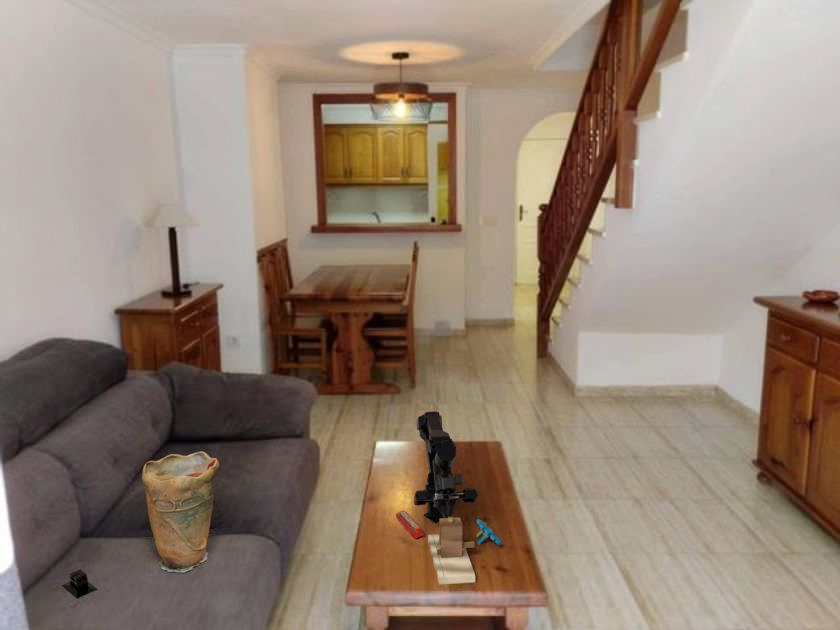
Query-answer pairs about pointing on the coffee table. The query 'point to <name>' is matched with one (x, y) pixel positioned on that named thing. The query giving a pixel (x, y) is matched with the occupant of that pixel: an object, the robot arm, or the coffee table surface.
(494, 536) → the gear
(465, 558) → the pine board
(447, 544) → the tan knobbed block
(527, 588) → the coffee table surface
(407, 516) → the candy bar
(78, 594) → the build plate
